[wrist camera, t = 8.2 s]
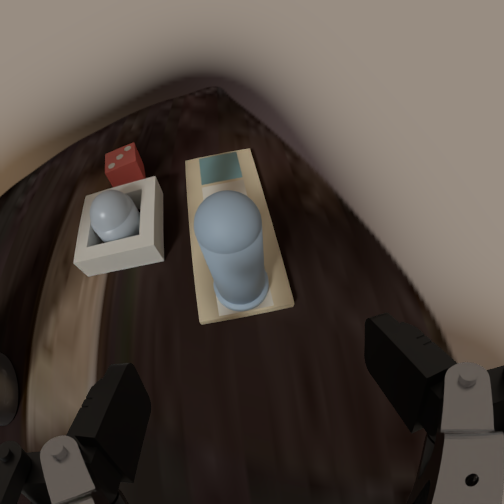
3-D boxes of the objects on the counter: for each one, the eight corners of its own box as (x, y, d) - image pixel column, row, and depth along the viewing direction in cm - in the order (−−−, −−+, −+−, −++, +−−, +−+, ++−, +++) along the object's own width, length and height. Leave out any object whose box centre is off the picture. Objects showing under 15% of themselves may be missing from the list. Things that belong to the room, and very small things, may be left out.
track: (201, 324, 24) (199, 321, 23) (186, 165, 34) (185, 160, 33) (293, 306, 24) (294, 303, 24) (250, 153, 34) (249, 148, 34)
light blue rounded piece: (102, 254, 28) (76, 224, 23) (106, 217, 30) (85, 186, 25) (143, 245, 28) (121, 211, 23) (145, 207, 30) (127, 173, 26)
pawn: (219, 316, 23) (183, 247, 14) (211, 267, 26) (179, 181, 16) (273, 305, 24) (275, 229, 14) (262, 257, 26) (256, 166, 16)
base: (88, 276, 27) (73, 263, 24) (96, 211, 31) (85, 196, 29) (164, 260, 27) (153, 244, 25) (163, 193, 32) (155, 175, 29)
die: (117, 195, 32) (104, 173, 29) (116, 175, 34) (105, 153, 31) (146, 183, 33) (135, 160, 29) (143, 164, 35) (133, 141, 31)
